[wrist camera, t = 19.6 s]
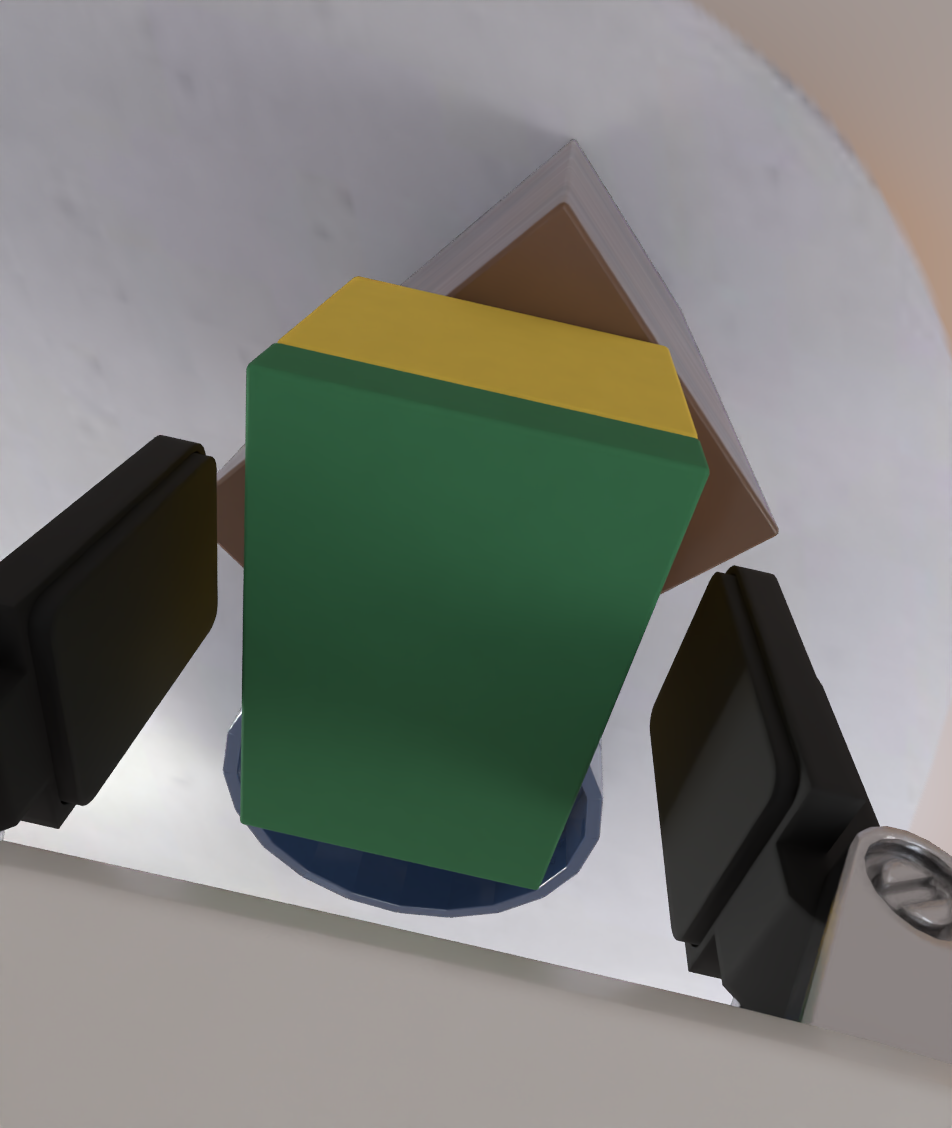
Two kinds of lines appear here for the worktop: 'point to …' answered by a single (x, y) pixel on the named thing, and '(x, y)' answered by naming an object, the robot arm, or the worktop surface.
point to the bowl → (416, 883)
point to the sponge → (448, 570)
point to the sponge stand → (590, 300)
